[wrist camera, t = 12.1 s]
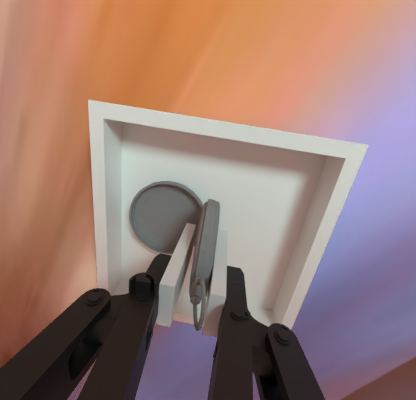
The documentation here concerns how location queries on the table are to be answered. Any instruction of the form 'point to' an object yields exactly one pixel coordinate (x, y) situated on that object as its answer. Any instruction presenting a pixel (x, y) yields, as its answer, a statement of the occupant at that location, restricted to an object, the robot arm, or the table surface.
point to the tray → (221, 198)
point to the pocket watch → (178, 230)
